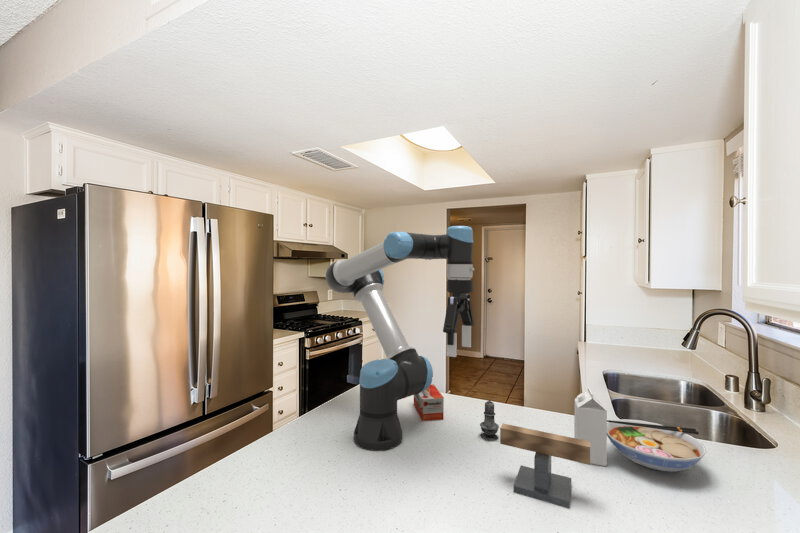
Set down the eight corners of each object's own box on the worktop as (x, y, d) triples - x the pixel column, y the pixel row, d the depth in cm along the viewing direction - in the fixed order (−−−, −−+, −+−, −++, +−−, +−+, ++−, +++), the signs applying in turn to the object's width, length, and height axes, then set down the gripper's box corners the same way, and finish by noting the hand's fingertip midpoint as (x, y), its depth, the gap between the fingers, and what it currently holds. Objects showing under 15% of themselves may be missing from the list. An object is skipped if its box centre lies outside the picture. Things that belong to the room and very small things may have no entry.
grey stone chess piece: (499, 442, 109) (499, 403, 109) (479, 440, 111) (480, 401, 111) (498, 433, 115) (498, 396, 115) (479, 431, 116) (479, 394, 116)
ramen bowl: (608, 477, 92) (608, 445, 92) (593, 437, 113) (593, 411, 113) (731, 499, 83) (731, 464, 83) (689, 451, 104) (689, 423, 104)
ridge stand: (513, 491, 85) (513, 454, 85) (520, 470, 94) (520, 436, 94) (569, 508, 80) (569, 467, 80) (571, 484, 88) (571, 447, 88)
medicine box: (413, 405, 139) (413, 384, 139) (433, 404, 140) (433, 383, 140) (421, 422, 124) (422, 398, 124) (444, 420, 125) (444, 397, 125)
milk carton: (601, 454, 103) (601, 388, 103) (606, 467, 96) (607, 396, 96) (574, 449, 105) (574, 385, 105) (577, 462, 98) (577, 393, 98)
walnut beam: (500, 443, 90) (500, 427, 90) (502, 438, 93) (502, 423, 93) (590, 464, 81) (590, 447, 81) (590, 458, 83) (590, 441, 83)
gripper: (458, 280, 92) (457, 362, 92) (483, 278, 114) (483, 344, 114) (431, 280, 96) (430, 359, 96) (461, 277, 118) (460, 342, 118)
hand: (459, 351), depth 105 cm, fingers open, 13 cm apart
